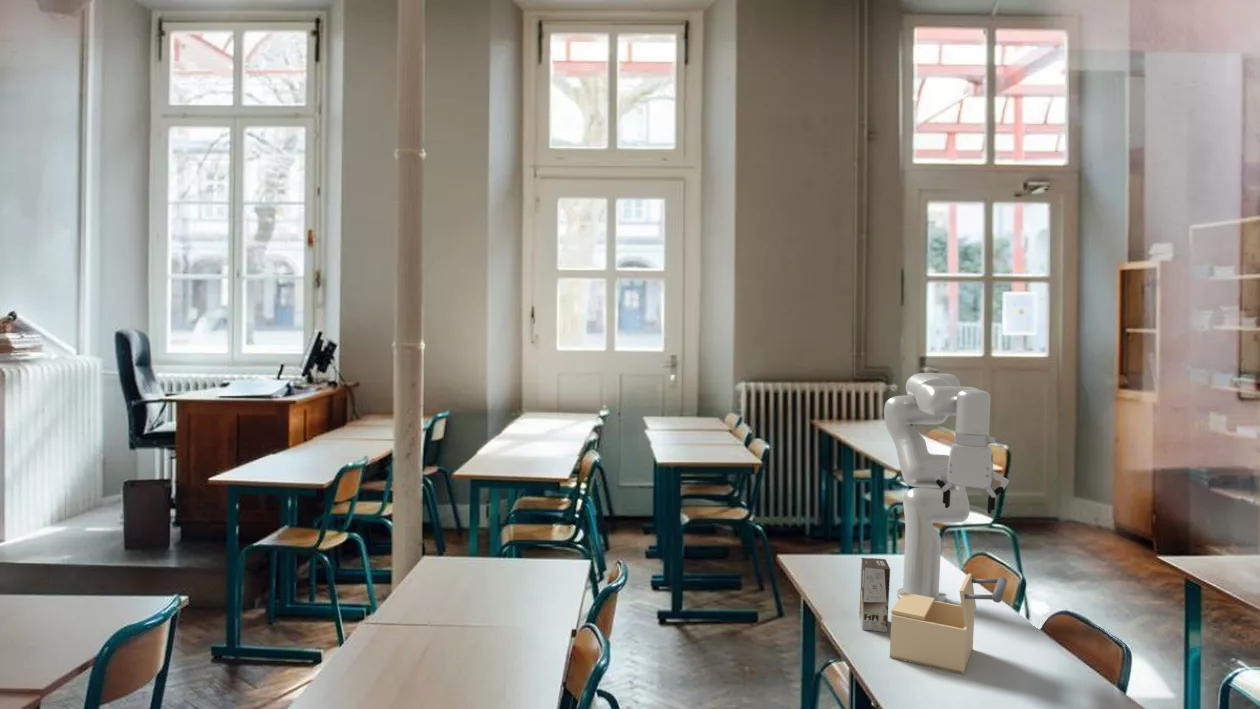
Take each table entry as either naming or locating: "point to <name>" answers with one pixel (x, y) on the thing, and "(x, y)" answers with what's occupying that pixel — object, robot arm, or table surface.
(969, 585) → the flap
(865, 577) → the coffee box
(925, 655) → the carton
